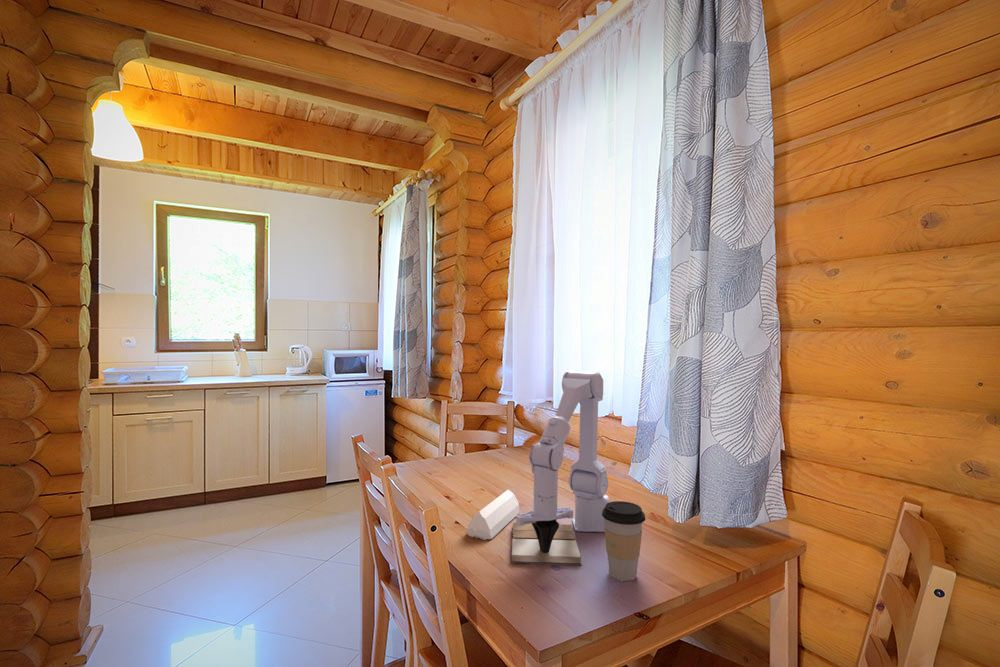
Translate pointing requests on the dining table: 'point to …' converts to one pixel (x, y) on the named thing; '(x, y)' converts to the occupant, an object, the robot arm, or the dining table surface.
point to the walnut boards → (529, 533)
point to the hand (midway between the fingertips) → (544, 551)
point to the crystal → (494, 516)
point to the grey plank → (557, 554)
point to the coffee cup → (623, 538)
